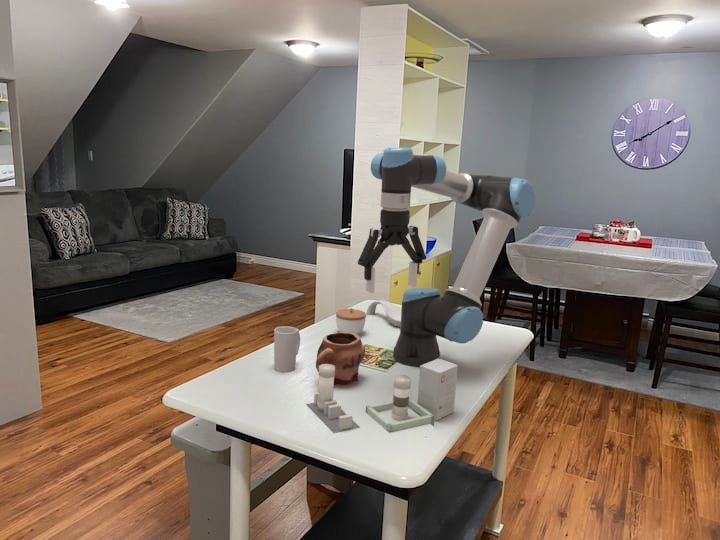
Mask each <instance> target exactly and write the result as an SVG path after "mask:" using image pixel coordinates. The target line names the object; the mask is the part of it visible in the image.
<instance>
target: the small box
mask: <svg viewBox="0 0 720 540" xmlns="http://www.w3.org/2000/svg"><path fill="white" fill-rule="evenodd" d="M458 367H459V366H458V364H455V363H453V362H450V361H447V360H444V359H442V358H440V359H439V358H438V359H436V360H433V361H431V362H428V363H426V364H423V365H421V366H420V367H419V375H418V376H419V378H418V391H417V401H416V403H417V404H419V405H420V406H422V407H423V408H424V409H426V410H427V411H428V412H430V413H431V414H433V415H434V416H435V419H434V420H435V421H434V422H437V421H439V420H441V419H442V417H443V418H444V417H446V416H448V415H450V414H452V413H454V412H455V411H454V410H455V399H456V392H457V391H456V389H457V377H458ZM453 411H454V412H453Z"/></svg>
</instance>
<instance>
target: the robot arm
mask: <svg viewBox="0 0 720 540" xmlns="http://www.w3.org/2000/svg"><path fill="white" fill-rule="evenodd" d="M370 172H371V175H372V176H373V177H374V178H376V179H377V180H381V191H380V192H381V193H380V207H381V208H382V209H381V210H380V212H379V213H380V216H379V217H380V218H379V220H380V221H379V222H380V229H377V228H373V227H372V228H370V230H369V235H368V238H367V240H366V242H365V245H364V246H363V249H362V252H361V254H360V257H359V258H358V260H357V264H358V265H359V266H362V267H364V273H363V276H364V277H363V278H364V280H366V282H365V283H366V285H365V291H366V292H368V293H370V294H375V281H376V268H375V267H374V266H375V264H376V263H377V262H378V260H379V259H380V257H381V255H383V253H384V251H385V250H386V249H387V248H388V247H392V246H396V245H397V246H402V248H403V250H404V251H405V252H406V253H407V255H408V256H409V258H410V259H411V261H409V263H408V279H407V283H408V284H407V285H408V286H410V287H412V288H408V289H406V290H405V291H404V292H403V294H402V301H401V308H402V311H401V327H399V328H400V331H399V336H398V337H397V340H396V343H395V346H394V347H393V350H392V351H393V352H392V358H393V359H394V360H395V361H396V362H398V363H400V364H403V365H405V366H410V367H411V366H412V367H419V368H420V366H421V365H423V364H426V363H428V362H431V361H433V360H436V359H438V358H439V359H441V352H440V346H439V343H438V339H437V336H438V337H440V338H443V339H446V341H447V340H448V342H454V343H458V344H460V345H461V344H466V343H469V342H471V341H473V340H474V339H475V338H476V337H477V336H478V335H479V333H480V332H481V329H482V327H483V324H484V320H483V319H484V313H483V312H482V310H481V309H482V306H483V305H482V301H481V299H480V298H481V295H482V294H483V291H484V289H485V287H486V284H487V283H488V281H489V278H490V276H491V275H492V271H493V268H494V266H495V264H496V262H497V260H498V257H499V255H500V253H501V251H502V248H503V246H504V244H505V242H506V239H507V237H508V235H509V233H510V230H511V229H513V228H515V227H517V226H518V225H519V222H520V221H521V219H527V218H529V217H530V216H531V215H532V213H533V211H534V209H535V204H536V194H535V189H534V186H533V185H532V183H531V182H530V181H529V180H527V179H525V178H519V177H507V176H496V175H488V174H485V175H484V174H482V175H481V174H469V173H466V172H460V173H454V172H452V171H449V170H447V164H446V162H445V159H443V158H442V157H440V156H438V155H433V154H432V155H420V154H414V151H413V149H412V148H410V147H386V148H385V149H384V150H383V153H382V152H379V153H377V154H375V155H374V156H373V158H372V160H371V163H370ZM412 188H415V189H418V190H419V189H420V190H422V191H425V192H430V193H433V194H436V195H441V196H442V197H443V196H444V197H447V198H450V199H451V201H453V202H454V203H457V204H461V205H463V206H466V207H469V208H471V209H474V210H477V211H480V212H481V214H482V216H483V220H482V222H481V224H480V226H479V228H478V231H477V232H476V233H477V234H476V235H475V237H474V240H473V242H472V244H471V246H470V248H469V251H468V253H467V255H466V257H465V259H464V262H463V264H462V266H461V268H460V271H459V273H458V275H457V278H456V279H455V282H454V284H453V286H452V287H450V288H447V289H445V291H444V293H443V296H441V295H442V293H441V291H440V289H438V288H437V287H436V288H435V287H417V281H418V275H419V273H420V265H421V264H423V262H424V261H425V260H426V259H427V256H426V252H425V250H424V247H423V244H422V242H421V241H422V240H421V238H420V235H419V227H418V226H415V225H410V218H411V217H410V216H411V215H410V214H411V213H410V210H409V209H410V208H411V196H412V195H411V194H412V193H411V192H412ZM408 235H409V238H410V240H409V239H408V238H407V236H408ZM410 241H411V242H410ZM411 243H412V244H411Z"/></svg>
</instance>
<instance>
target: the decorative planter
mask: <svg viewBox="0 0 720 540" xmlns="http://www.w3.org/2000/svg"><path fill="white" fill-rule="evenodd" d="M316 353H317V354H316V361H315V368H316V371H317V372H318V373H317V374H319V366H320V365H322V364H331V365H334V366H335V376H334V386H335V385H336V386H337V385H338V386H339V385H340V386H344V385H345V386H346V385H349V384H350V385H351V384H353V383H354V382H358V381H359V367H360V365H361V363H362V361H363V360H364V358H365V355H366V348H365V346H364V344H363V342H362V338H361V336H360V335H359V334H358V335H357V334H355V333H344V332H340V331H339V332H334V333H330V334H327V335H325V336H324V337H323V339H322V341H321V343H320V345H319V347H318V350H317V352H316Z"/></svg>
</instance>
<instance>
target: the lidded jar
mask: <svg viewBox="0 0 720 540" xmlns="http://www.w3.org/2000/svg"><path fill="white" fill-rule="evenodd" d="M366 317H367V314H366V311H363V310H359V309H355V308H352V307H351V308H345V309H344V308H342V309H338V310H337V311H336V313H335V319H336V320H335V323H336V327H337V329H338V331H339V332H344V333H355V334H357V335H359V334H360V333H361V332H362V331H363V329H364V328H365V324H366Z"/></svg>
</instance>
